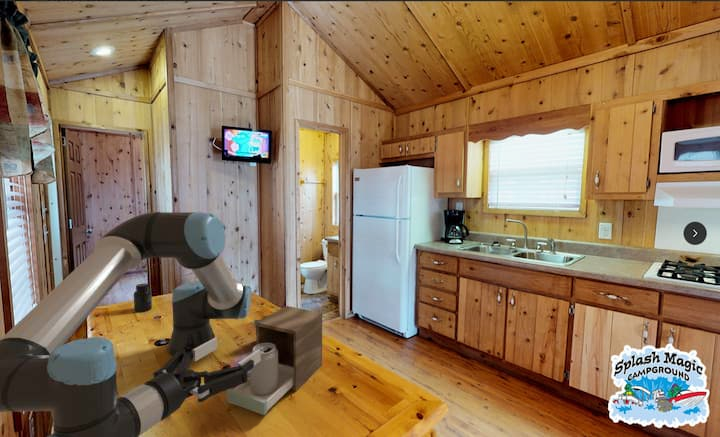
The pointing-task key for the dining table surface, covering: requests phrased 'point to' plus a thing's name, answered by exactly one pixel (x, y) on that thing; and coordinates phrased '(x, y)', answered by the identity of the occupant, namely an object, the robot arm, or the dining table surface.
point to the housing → (294, 340)
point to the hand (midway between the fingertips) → (237, 348)
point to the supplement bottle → (142, 298)
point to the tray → (262, 402)
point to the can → (265, 370)
